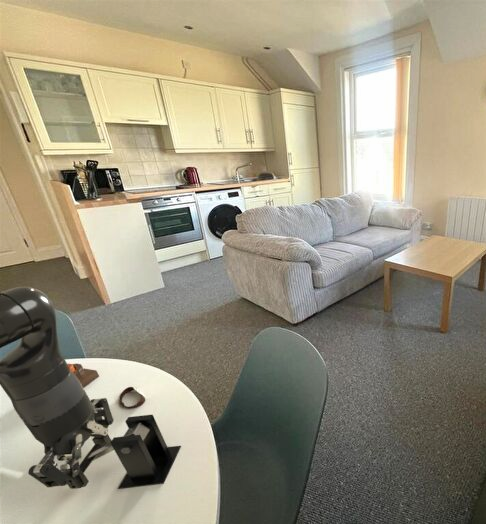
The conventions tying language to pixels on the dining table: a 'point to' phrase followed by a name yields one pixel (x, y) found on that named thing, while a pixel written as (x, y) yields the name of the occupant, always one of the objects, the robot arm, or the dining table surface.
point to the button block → (84, 374)
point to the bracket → (144, 454)
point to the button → (71, 367)
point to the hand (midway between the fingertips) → (94, 466)
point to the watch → (130, 391)
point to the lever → (100, 451)
